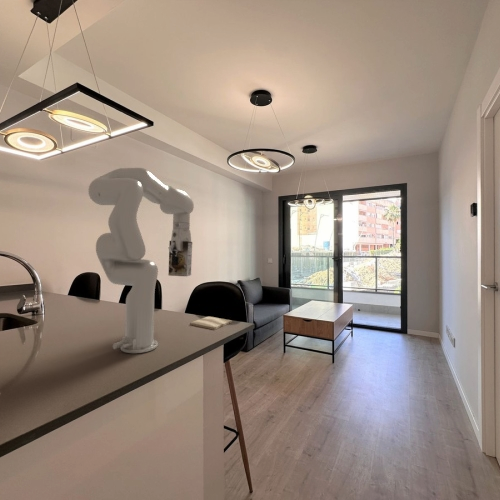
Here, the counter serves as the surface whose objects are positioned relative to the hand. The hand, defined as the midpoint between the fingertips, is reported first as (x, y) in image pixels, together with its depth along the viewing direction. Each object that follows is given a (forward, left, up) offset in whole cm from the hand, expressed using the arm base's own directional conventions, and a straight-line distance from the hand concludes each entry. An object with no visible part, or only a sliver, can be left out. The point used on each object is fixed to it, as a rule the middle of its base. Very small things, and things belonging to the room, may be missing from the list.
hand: (180, 264), depth 134 cm
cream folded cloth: (+9, -12, -28) cm, 31 cm away
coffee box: (0, 0, -5) cm, 5 cm away
